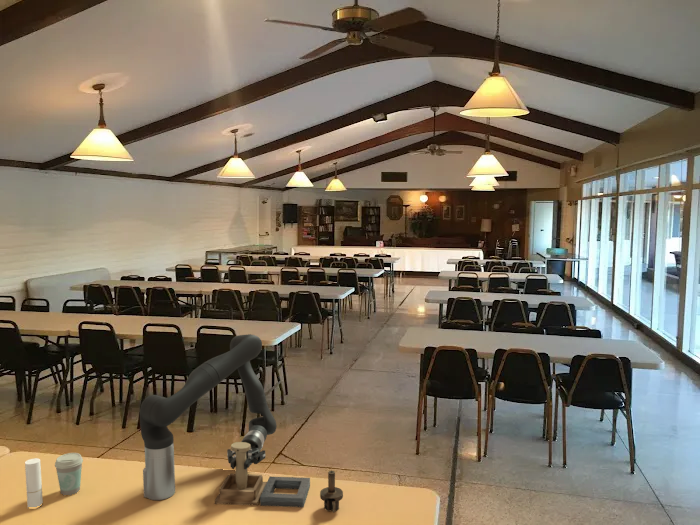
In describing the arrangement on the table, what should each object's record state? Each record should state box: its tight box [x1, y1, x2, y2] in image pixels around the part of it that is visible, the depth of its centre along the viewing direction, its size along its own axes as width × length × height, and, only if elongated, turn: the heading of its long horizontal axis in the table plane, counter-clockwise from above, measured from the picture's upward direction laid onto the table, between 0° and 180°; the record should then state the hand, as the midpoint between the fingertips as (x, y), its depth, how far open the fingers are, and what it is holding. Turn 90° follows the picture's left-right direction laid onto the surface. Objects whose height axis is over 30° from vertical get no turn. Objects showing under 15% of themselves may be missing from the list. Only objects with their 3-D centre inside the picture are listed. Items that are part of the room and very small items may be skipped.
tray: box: [214, 473, 267, 506], centre depth 195 cm, size 14×14×4 cm
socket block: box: [259, 476, 311, 508], centre depth 194 cm, size 14×14×3 cm
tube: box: [24, 457, 44, 508], centre depth 187 cm, size 4×4×15 cm
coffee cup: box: [54, 452, 84, 496], centre depth 196 cm, size 8×9×12 cm
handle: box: [230, 441, 251, 490], centre depth 194 cm, size 5×6×15 cm
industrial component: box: [319, 470, 344, 513], centre depth 186 cm, size 9×7×12 cm
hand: (239, 466), depth 191 cm, fingers closed on handle, 3 cm apart
